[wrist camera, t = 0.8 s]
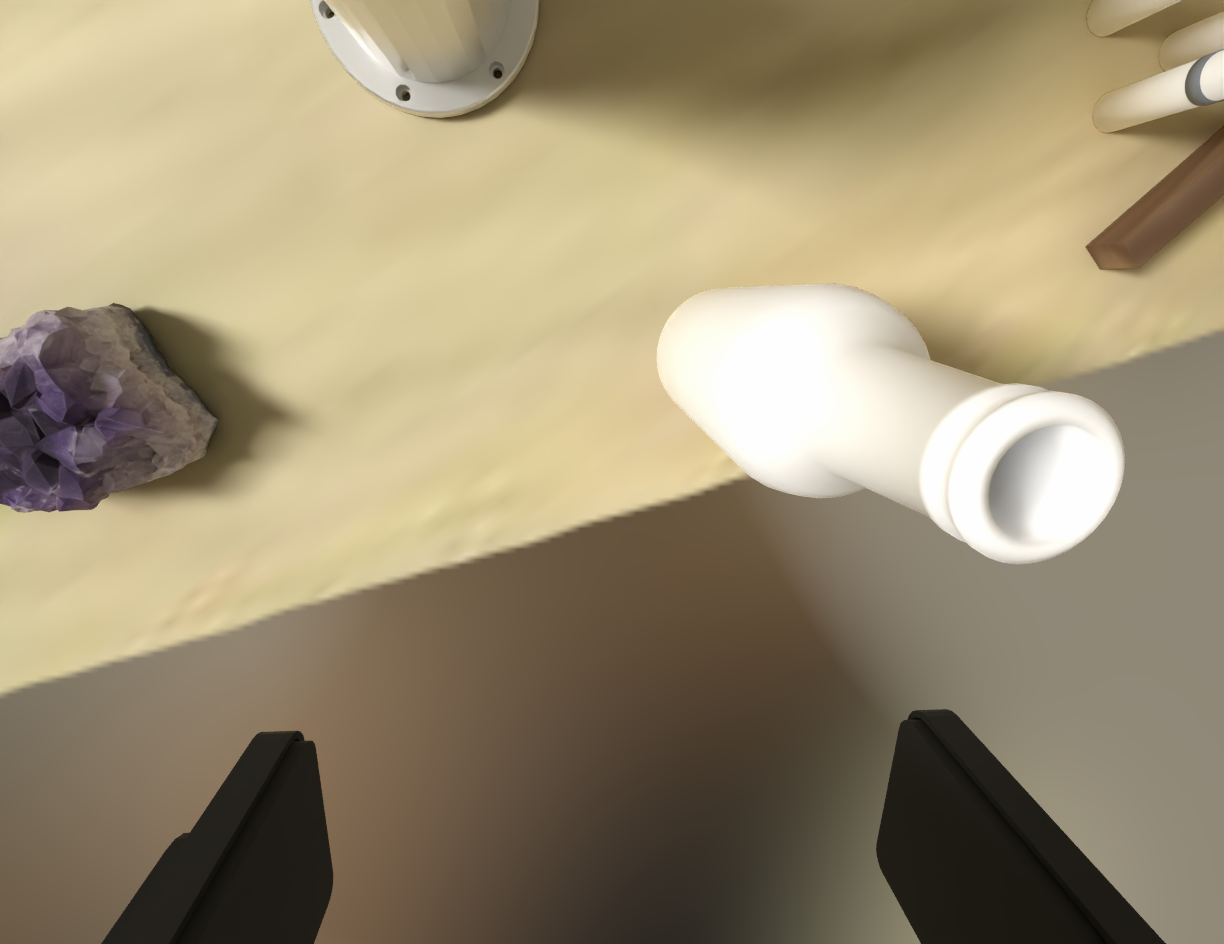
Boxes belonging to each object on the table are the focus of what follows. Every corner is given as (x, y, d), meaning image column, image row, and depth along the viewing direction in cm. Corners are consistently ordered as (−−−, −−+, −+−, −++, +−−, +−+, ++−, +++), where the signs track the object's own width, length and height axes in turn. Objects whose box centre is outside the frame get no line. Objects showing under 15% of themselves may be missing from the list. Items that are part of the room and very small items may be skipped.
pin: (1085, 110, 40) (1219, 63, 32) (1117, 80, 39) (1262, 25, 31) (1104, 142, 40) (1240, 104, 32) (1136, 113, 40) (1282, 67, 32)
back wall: (1085, 246, 42) (1123, 243, 39) (1292, 66, 40) (1348, 48, 37) (1099, 269, 43) (1138, 267, 40) (1304, 92, 40) (1361, 77, 37)
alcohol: (763, 268, 41) (1235, 209, 12) (795, 393, 43) (1250, 589, 15) (637, 313, 41) (809, 362, 12) (677, 435, 44) (896, 711, 15)
